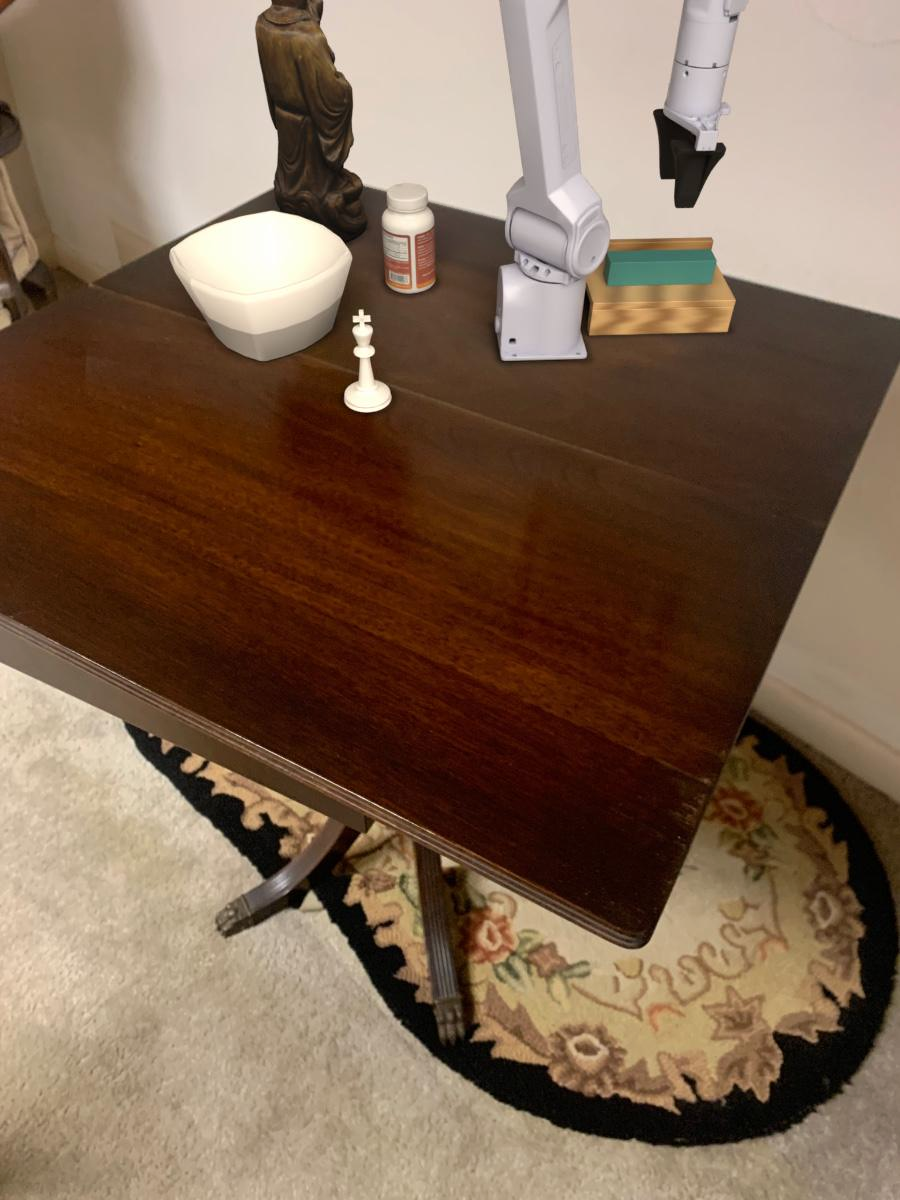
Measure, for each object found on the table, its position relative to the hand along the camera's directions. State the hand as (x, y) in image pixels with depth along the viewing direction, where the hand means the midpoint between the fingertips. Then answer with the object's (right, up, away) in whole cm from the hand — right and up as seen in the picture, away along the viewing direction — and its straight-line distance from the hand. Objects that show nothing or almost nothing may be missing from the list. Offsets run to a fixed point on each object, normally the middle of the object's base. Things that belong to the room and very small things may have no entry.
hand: (676, 192), depth 102 cm
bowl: (-46, -16, -1) cm, 49 cm away
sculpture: (-43, +2, +16) cm, 46 cm away
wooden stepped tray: (-3, -12, +3) cm, 13 cm away
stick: (-2, -10, -1) cm, 11 cm away
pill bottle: (-31, -8, +7) cm, 33 cm away
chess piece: (-35, -26, -10) cm, 45 cm away
